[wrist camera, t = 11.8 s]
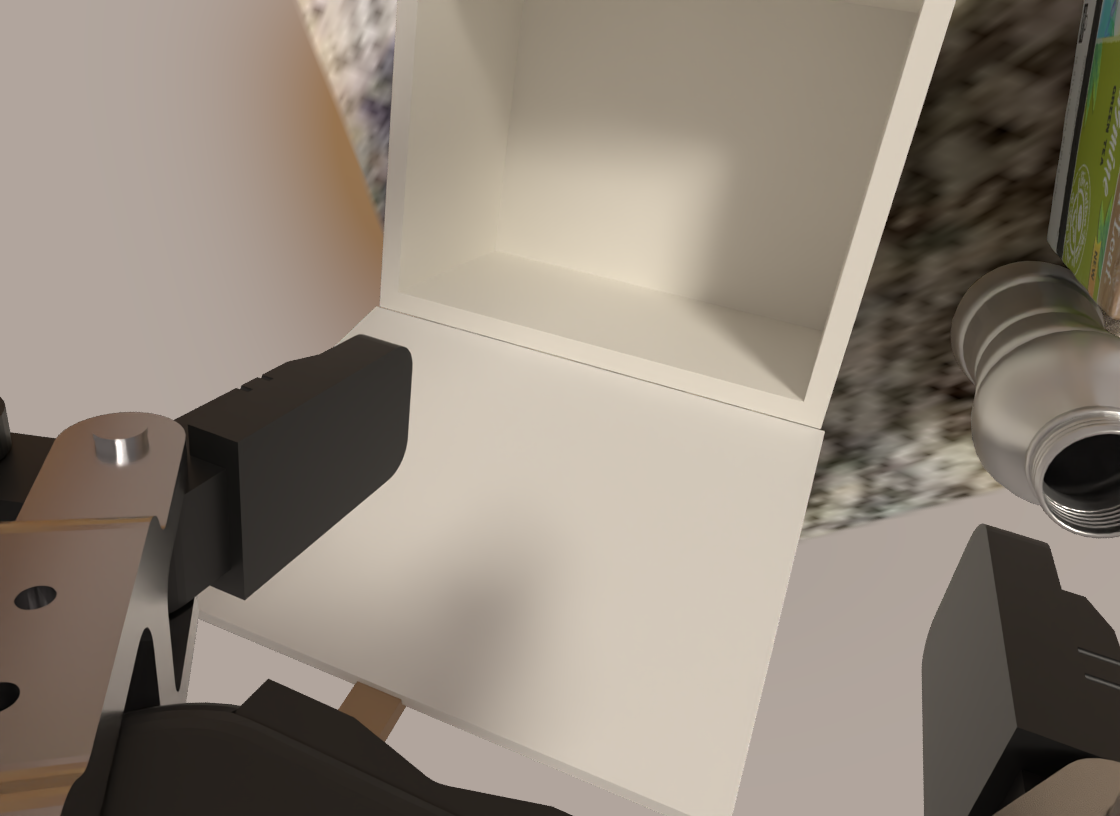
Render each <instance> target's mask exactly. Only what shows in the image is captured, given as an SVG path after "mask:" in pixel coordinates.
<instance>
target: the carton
mask: <svg viewBox="0 0 1120 816" xmlns="http://www.w3.org/2000/svg"><path fill="white" fill-rule="evenodd" d="M955 2H956V0H397V15H396V32H395V49H394V67H393V84H392V101H391V118H390V136H389V153H388V170H387V187H386V205H385V222H384V239H383V256H382V274H381V292H380V307H384V308H387V309H391V310H394V311H398V312H401V313H405V314H409V315H413V316H416V317H419V318H423V319H427V320H430V321H434V322H437V323H441V324H445V325H448V326H452V327H455V328H459V329H463V330H466V331H470V332H473V333H477V334H481V335H484V336H488V337H491V338H495V339H498V340H502V341H506V342H509V343H513V344H516V345H520V346H524V347H527V348H531V349H534V350H538V351H542V352H545V353H549V354H552V355H556V356H560V357H563V358H567V359H570V360H574V361H578V362H581V363H585V364H588V365H592V366H595V367H599V368H603V369H606V370H610V371H613V372H617V373H621V374H624V375H628V376H631V377H635V378H639V379H642V380H646V381H649V382H653V383H657V384H660V385H664V386H667V387H671V388H675V389H678V390H682V391H685V392H689V393H692V394H696V395H700V396H703V397H707V398H710V399H714V400H718V401H721V402H725V403H728V404H732V405H736V406H739V407H743V408H746V409H750V410H754V411H757V412H761V413H764V414H768V415H772V416H775V417H779V418H782V419H786V420H789V421H793V422H797V423H800V424H804V425H807V426H811V427H815V428H818V429H821V427H822V423H823V420H824V417H825V414H826V411H827V408H828V404H829V401H830V398H831V395H832V392H833V389H834V385H835V382H836V379H837V376H838V373H839V370H840V366H841V363H842V360H843V357H844V354H845V351H846V347H847V344H848V341H849V338H850V335H851V332H852V328H853V325H854V322H855V319H856V316H857V313H858V309H859V306H860V303H861V300H862V297H863V294H864V290H865V287H866V284H867V281H868V278H869V274H870V271H871V268H872V265H873V262H874V259H875V255H876V252H877V249H878V246H879V243H880V240H881V236H882V233H883V230H884V227H885V224H886V221H887V217H888V214H889V211H890V208H891V205H892V202H893V198H894V195H895V192H896V189H897V186H898V183H899V179H900V176H901V173H902V170H903V167H904V164H905V160H906V157H907V154H908V151H909V148H910V145H911V141H912V138H913V135H914V132H915V129H916V126H917V122H918V119H919V116H920V113H921V110H922V107H923V103H924V100H925V97H926V94H927V91H928V87H929V84H930V81H931V78H932V75H933V72H934V68H935V65H936V62H937V59H938V56H939V53H940V49H941V46H942V43H943V40H944V37H945V34H946V30H947V27H948V24H949V21H950V18H951V15H952V11H953V8H954V5H955Z"/></svg>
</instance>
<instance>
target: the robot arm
mask: <svg viewBox="0 0 1120 816" xmlns="http://www.w3.org/2000/svg"><path fill="white" fill-rule="evenodd" d="M412 368H413V362H412V356H411V353H410V351H409V350H408V348H406V347H404V346H400V345H397V344H394V343H390V342H387V341H384V340H381V339H377V338H374V337H371V336H367V335H364V334H358V335H356V336H354V337H352V338H350V339H348V340H346V341H344V342H342V343H340V344H338V345H337V346H335V347H333V348H331V349H329V350H327V351H325V352H323V353H321V354H319V355H315V356H311V357H306V358H302V359H298V360H293V361H289V362H286V363H284V364H282V365H280V366H278V367H276V368H275V369H272V370H271V371H269V372H267V373H265V374H263V375H262V378H258V377H257V378H255V379H253V380H251V381H249V382H247V383H245V384H243V385H242V386H241V389H237V388H235V389H233V390H232V391H230V392H228V393H226V394H224V395H222V396H220V397H218V398H216V399H214V400H212V401H210V402H208V403H206V404H204V405H203V406H200V407H199V408H197V409H195V410H192V411H191V412H189V413H187V414H185V415H183V416H181V417H179V418H177V419H175V420H172V419H170V418H167V417H164V416H161V415H156V414H152V413H143V412H119V413H112V414H106V415H100V416H96V417H92V418H89V419H86V420H83V421H80V422H78V423H76V424H74V425H72V426H70V427H68V428H67V429H65V430H64V431H63V432H62V433H60V435H58V437H57V438H48V437H41V436H33V435H25V434H18V433H11V432H10V429H9V423H8V418H7V413H6V407H5V403H4V401H3V400H2V398H1V397H0V816H572V815H570V814H568V813H566V812H563V811H561V810H559V809H556V808H554V807H551V806H547V805H542V804H537V803H532V802H527V801H521V800H516V799H511V798H506V797H500V796H496V795H491V794H486V793H481V792H476V791H471V790H466V789H461V788H455V787H450V786H446V785H443V784H439V783H437V782H435V781H432V780H431V779H430V778H428V777H426V776H425V775H424V774H423V773H422V772H421V771H419V770H418V769H417V768H416V767H414V766H413V765H412V764H411V763H409V762H408V761H407V760H406V759H405V758H403V757H402V756H401V755H400V754H398V753H397V752H396V751H395V750H394V749H392V748H391V747H390V746H389V745H387V744H386V743H385V742H384V741H383V740H381V739H380V738H379V737H378V736H376V735H375V734H374V733H373V732H372V731H370V730H369V729H368V728H367V727H365V726H364V725H363V724H362V723H361V722H359V721H358V720H357V719H356V718H354V717H352V716H350V715H348V714H346V713H343V712H341V711H339V710H337V709H334V708H332V707H330V706H328V705H326V704H323V703H321V702H319V701H317V700H314V699H312V698H310V697H308V696H306V695H303V694H301V693H299V692H297V691H295V690H292V689H290V688H288V687H286V686H283V685H281V684H279V683H277V682H275V681H272V680H270V679H268V680H267V681H266V682H265V683H264V684H262V685H261V686H260V688H259V689H257V690H256V692H254V693H253V694H252V696H250V698H248V699H247V700H246V701H245V702H244V703H243V704H242V705H241V706H237V705H232V704H219V703H186V698H187V692H188V685H189V678H190V672H191V664H192V658H193V651H194V644H195V638H196V631H197V624H198V617H199V604H198V594H200V593H201V592H202V591H204V590H205V589H206V588H207V587H209V586H212V587H214V588H216V589H219V590H221V591H223V592H226V593H228V594H230V595H233V596H235V597H238V598H240V599H242V600H246V599H247V598H248V597H250V596H251V595H252V594H253V593H254V592H256V591H257V590H258V589H259V588H260V587H262V586H263V585H264V584H265V583H266V582H267V581H269V580H270V579H271V578H272V577H273V576H275V575H276V574H277V573H278V572H279V571H281V570H282V569H283V568H284V567H285V566H287V565H288V564H289V563H290V562H291V561H293V560H294V559H295V558H296V557H297V556H299V555H300V554H301V553H302V552H303V551H304V550H306V549H307V548H308V547H309V546H310V545H312V544H313V543H314V542H315V541H316V540H318V539H319V538H320V537H321V536H322V535H324V534H325V533H326V532H327V531H328V530H330V529H331V528H332V527H333V526H334V525H336V524H337V523H338V522H339V521H340V520H341V519H343V518H344V517H345V516H346V515H347V514H349V513H350V512H351V511H352V510H353V509H355V508H356V507H357V506H358V505H359V504H361V503H362V502H363V501H364V500H365V499H367V498H368V497H369V496H370V495H371V494H373V493H374V492H375V491H376V490H377V489H378V488H380V487H381V486H382V485H383V484H384V483H386V482H387V481H388V480H389V479H390V478H391V477H392V476H393V475H394V474H395V472H396V471H397V469H398V468H399V466H400V464H401V462H402V460H403V457H404V454H405V451H406V447H407V442H408V430H409V414H410V399H411V384H412ZM922 709H923V710H922V712H923V713H922V714H923V772H924V773H923V775H924V816H1120V646H1119V643H1118V640H1117V637H1116V634H1115V631H1114V630H1113V629H1112V627H1111V626H1110V625H1109V624H1108V623H1107V622H1106V620H1105V619H1104V618H1103V617H1102V616H1101V615H1100V614H1099V612H1098V611H1097V610H1096V609H1095V608H1094V607H1093V605H1092V604H1091V603H1090V602H1089V601H1088V600H1087V598H1086V597H1084V596H1080V595H1077V594H1074V593H1071V592H1068V591H1064V590H1062V589H1061V586H1060V582H1059V578H1058V575H1057V571H1056V568H1055V564H1054V560H1053V556H1052V553H1051V549H1050V547H1049V545H1048V544H1047V543H1045V542H1042V541H1039V540H1035V539H1032V538H1029V537H1025V536H1022V535H1019V534H1016V533H1012V532H1009V531H1006V530H1002V529H999V528H996V527H992V526H989V525H986V524H980V525H979V526H978V527H977V528H976V529H975V531H974V532H973V534H972V536H971V538H970V540H969V542H968V544H967V546H966V548H965V551H964V553H963V555H962V557H961V559H960V562H959V564H958V566H957V568H956V570H955V573H954V575H953V577H952V580H951V581H950V584H949V586H948V588H947V590H946V593H945V595H944V597H943V599H942V601H941V604H940V606H939V608H938V610H937V612H936V615H935V617H934V619H933V622H932V624H931V627H930V630H929V633H928V636H927V640H926V644H925V649H924V654H923V660H922Z"/></svg>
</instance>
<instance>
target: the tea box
mask: <svg viewBox="0 0 1120 816" xmlns="http://www.w3.org/2000/svg"><path fill="white" fill-rule="evenodd" d="M1047 242H1048V243H1049V244H1050V246H1051V248H1052V249H1053V251H1054V252H1055V253H1056V254H1057V255H1058V256H1059V257H1060V258H1061V260H1062V261H1063V263H1064V264H1065V265H1066V266H1067V267H1068V268H1069V269H1070V270H1071V271H1072V272H1073V273H1074V276H1075V277H1076V279H1077V280H1078V281H1079V282H1080V284H1082V285H1083V286H1084V287H1085V288H1086V289H1087V291H1088V293H1089V295H1090V296H1091V297H1092V298H1093V300H1094V301H1095V302H1096V304H1097V305H1098V306H1099V307H1101V308H1102V309H1103V310H1104V311H1105V312H1106V313H1107V315H1108V316H1109V317H1110V318H1112V319H1114V320H1120V0H1084V4H1083V10H1082V16H1081V22H1080V27H1079V33H1078V40H1077V47H1076V54H1075V61H1074V67H1073V73H1072V79H1071V86H1070V93H1069V98H1068V103H1067V108H1066V115H1065V121H1064V129H1063V138H1062V144H1061V150H1060V156H1059V162H1058V168H1057V173H1056V180H1055V187H1054V193H1053V200H1052V208H1051V215H1050V221H1049V227H1048V234H1047Z"/></svg>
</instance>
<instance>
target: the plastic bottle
mask: <svg viewBox="0 0 1120 816" xmlns="http://www.w3.org/2000/svg"><path fill="white" fill-rule="evenodd" d="M950 335H951V347H952V350H953V354H954V357H955V359H956V361H957V363H958V365H959V366H960V368H961V369H962V371H963V372H964V373H965V375H966V376H967V377H968V378H969V379H970V380H971V381H972V383H973V384H975V386H976V392H975V398H974V402H973V407H972V413H971V425H972V440H973V443H974V447H975V450H976V454H977V456H978V457H979V459H980V461H981V463H982V465H983V466H984V468H985V469H986V470H987V471H988V473H989V474H990V475H991V476H992V477H993V478H994V479H995V480H996V481H997V482H998V483H1000V484H1001V485H1003V486H1004V487H1005V488H1007V489H1008V490H1009V491H1011V492H1012V493H1013V494H1015V495H1016V496H1018V497H1020V498H1022V499H1024V500H1026V501H1028V502H1030V503H1033V504H1036V505H1040V506H1041V507H1042V508H1043V511H1044V512H1045V513H1046V514H1047V515H1048V516H1049V517H1050V518H1051V519H1052V520H1053V521H1054V522H1055V523H1056V524H1058V525H1059V526H1060V527H1062V528H1063V529H1066V530H1067V531H1070V532H1072V533H1074V534H1078V535H1081V536H1084V537H1092V538H1113V537H1119V536H1120V338H1119V337H1117V336H1115V335H1113V334H1111V333H1109V332H1108V331H1107V330H1106V329H1105V322H1104V318H1103V314H1102V309H1101V307H1099V306H1098V305H1097V304H1096V302H1095V301H1094V300H1093V298H1092V297H1091V296H1090V295H1089V293H1088V291H1087V289H1086V288H1085V287H1084V286H1083V285H1082V284H1080V282H1079V281H1078V280H1077V279H1076V277H1075V276H1074V273H1073V272H1072V271H1071V270H1069V269H1067V268H1064V267H1062V266H1060V265H1055V264H1050V263H1046V262H1041V261H1021V262H1015V263H1010V264H1007V265H1004V266H1001V267H998V268H996V269H994V270H992V271H991V272H989V273H987V274H985V275H984V276H983V277H981V278H980V279H979V280H977V281H976V282H975V283H974V284H973V285H972V286H971V287H970V288H969V290H968V291H967V292H966V293H965V295H964V296H963V298H962V300H961V301H960V303H959V305H958V307H957V310H956V312H955V315H954V317H953V320H952V326H951V332H950Z"/></svg>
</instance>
